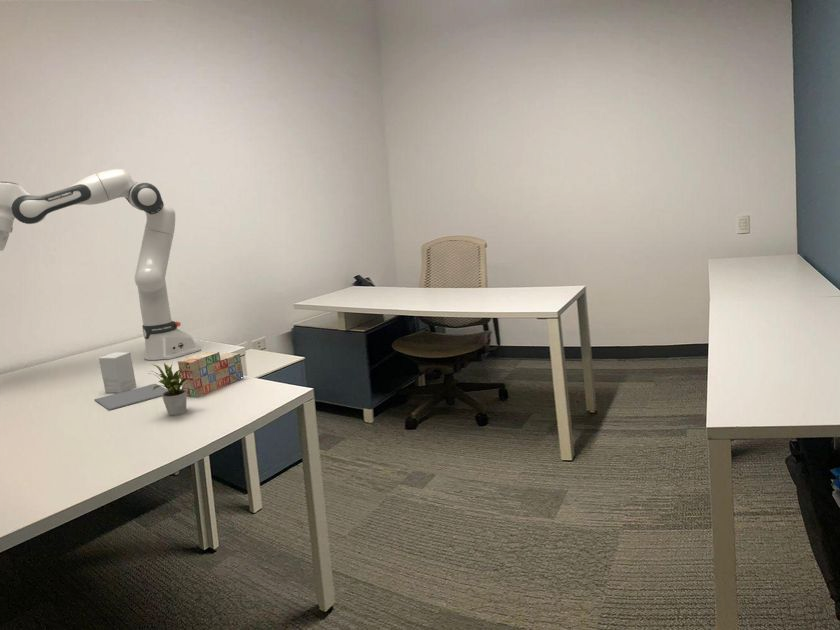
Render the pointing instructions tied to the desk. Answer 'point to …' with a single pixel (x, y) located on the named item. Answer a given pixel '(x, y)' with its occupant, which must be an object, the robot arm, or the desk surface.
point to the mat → (131, 397)
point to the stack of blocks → (209, 372)
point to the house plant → (173, 390)
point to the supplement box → (117, 372)
